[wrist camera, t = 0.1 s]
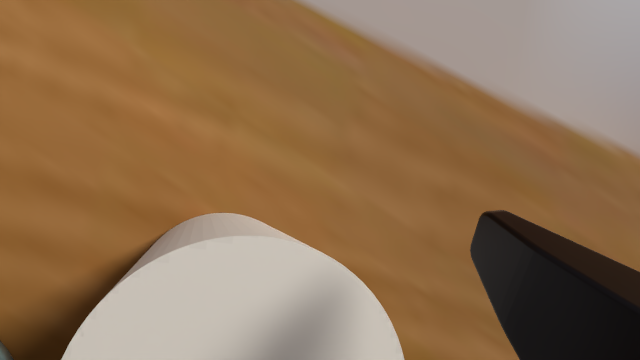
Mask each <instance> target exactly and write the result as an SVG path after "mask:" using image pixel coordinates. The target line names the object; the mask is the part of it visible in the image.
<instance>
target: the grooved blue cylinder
mask: <svg viewBox="0 0 640 360" xmlns="http://www.w3.org/2000/svg"><path fill="white" fill-rule="evenodd" d="M0 360H14V359H13V358H12V356H11V354H10V353H9V351H8V349H7V348H6V347H5V346H4V345H3V343H2V342H1V341H0Z"/></svg>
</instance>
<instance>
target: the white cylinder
mask: <svg viewBox="0 0 640 360" xmlns="http://www.w3.org/2000/svg"><path fill="white" fill-rule="evenodd" d="M61 360H404V357H403V353H402V349H401V346H400V343H399V340H398V337H397V334H396V332H395V330H394V327H393V325H392V323H391V321H390V319H389V317H388V315H387V313H386V312H385V310H384V309H383V307H382V306H381V304H380V302H379V301H378V300H377V298H376V297H375V296H374V294H373V293H372V292H371V291H370V290H369V289H368V287H367V286H366V285H365V284H364V283H363V282H362V281H361V280H360V279H359V278H358V277H357V276H356V275H355V274H353V273H352V272H351V271H350V270H348V269H347V268H346V267H345V266H343V265H342V264H340V263H339V262H337V261H336V260H334V259H332V258H331V257H329V256H327V255H325V254H324V253H322V252H320V251H318V250H316V249H314V248H312V247H310V246H308V245H306V244H304V243H302V242H300V241H298V240H296V239H294V238H292V237H290V236H288V235H286V234H284V233H282V232H280V231H278V230H276V229H274V228H272V227H270V226H268V225H266V224H264V223H262V222H260V221H258V220H256V219H253V218H251V217H248V216H244V215H239V214H233V213H213V214H206V215H202V216H198V217H195V218H192V219H189V220H187V221H185V222H182V223H181V224H179V225H177V226H175V227H174V228H172V229H170V230H169V231H168V232H166V233H165V234H164V235H163V236H162V237H160V238H159V239H158V240H157V241H156V242H155V243H154V244H153V246H152V247H151V248H150V249H149V250H148V251H147V252H146V253H145V254H144V255H143V256H142V257H141V258H140V259H139V261H138V262H137V263H136V264H135V265H134V266H133V267H132V268H131V269H130V270H129V271H128V272H127V273H126V275H125V276H124V277H123V278H122V279H121V280H120V281H119V282H118V283H117V284H116V285H115V286H114V287H113V288H112V290H111V291H110V292H109V293H108V294H107V295H106V296H105V297H104V298H103V299H102V300H101V301H100V302H99V304H98V305H97V306H96V307H95V308H94V309H93V311H92V312H91V313H90V314H89V315H88V316H87V318H86V319H85V321H84V322H83V323H82V325H81V326H80V327H79V329H78V330H77V332H76V334H75V335H74V337H73V338H72V340H71V342H70V343H69V345H68V347H67V349H66V351H65V353H64V355H63V357H62V359H61Z"/></svg>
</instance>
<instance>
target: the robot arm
mask: <svg viewBox="0 0 640 360" xmlns="http://www.w3.org/2000/svg"><path fill="white" fill-rule="evenodd" d="M470 252H471V257H472V260H473V263H474V265H475V267H476V269H477V272H478V274H479V276H480V279H481V281H482V283H483V286H484V288H485V290H486V292H487V295H488V297H489V299H490V302H491V304H492V306H493V308H494V311H495V313H496V315H497V317H498V320H499V322H500V324H501V326H502V328H503V330H504V332H505V334H506V336H507V338H508V339H509V341H510V343H511V345H512V347H513V348H514V350H515V352H516V354H517V355H518V357H519V359H520V360H640V272H638V271H636V270H634V269H632V268H630V267H627V266H625V265H623V264H621V263H619V262H617V261H614V260H612V259H610V258H608V257H606V256H603V255H601V254H599V253H597V252H595V251H593V250H590V249H588V248H586V247H584V246H582V245H580V244H577V243H575V242H573V241H571V240H569V239H566V238H564V237H562V236H560V235H558V234H556V233H553V232H551V231H549V230H547V229H545V228H542V227H540V226H538V225H536V224H534V223H532V222H529V221H527V220H525V219H523V218H521V217H518V216H516V215H514V214H512V213H510V212H508V211H504V210H497V211H486V212H484V213H483V214H482V215H481V216H480V218H479V221H478V224H477V227H476V230H475V233H474V237H473V240H472V243H471V249H470Z"/></svg>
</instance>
